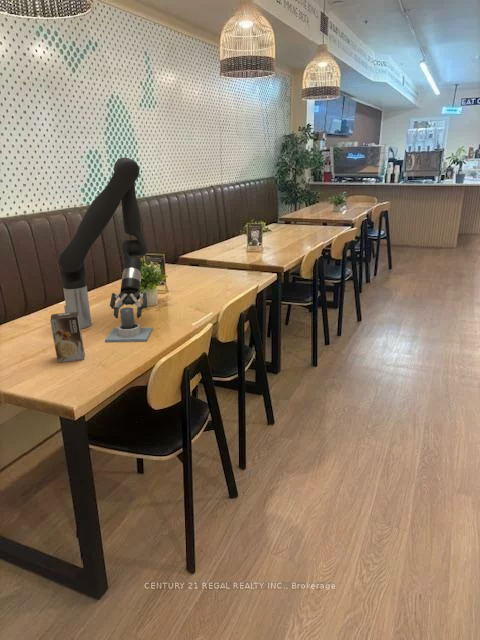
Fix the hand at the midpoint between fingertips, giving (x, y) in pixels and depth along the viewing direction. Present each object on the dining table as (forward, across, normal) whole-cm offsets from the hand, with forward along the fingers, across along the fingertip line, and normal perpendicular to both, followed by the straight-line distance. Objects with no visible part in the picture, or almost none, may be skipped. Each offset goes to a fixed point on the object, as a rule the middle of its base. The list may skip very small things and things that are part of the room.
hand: (127, 317), depth 181 cm
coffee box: (+20, -16, -9) cm, 27 cm away
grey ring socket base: (+5, 0, +6) cm, 8 cm away
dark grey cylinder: (+4, 0, +5) cm, 7 cm away
